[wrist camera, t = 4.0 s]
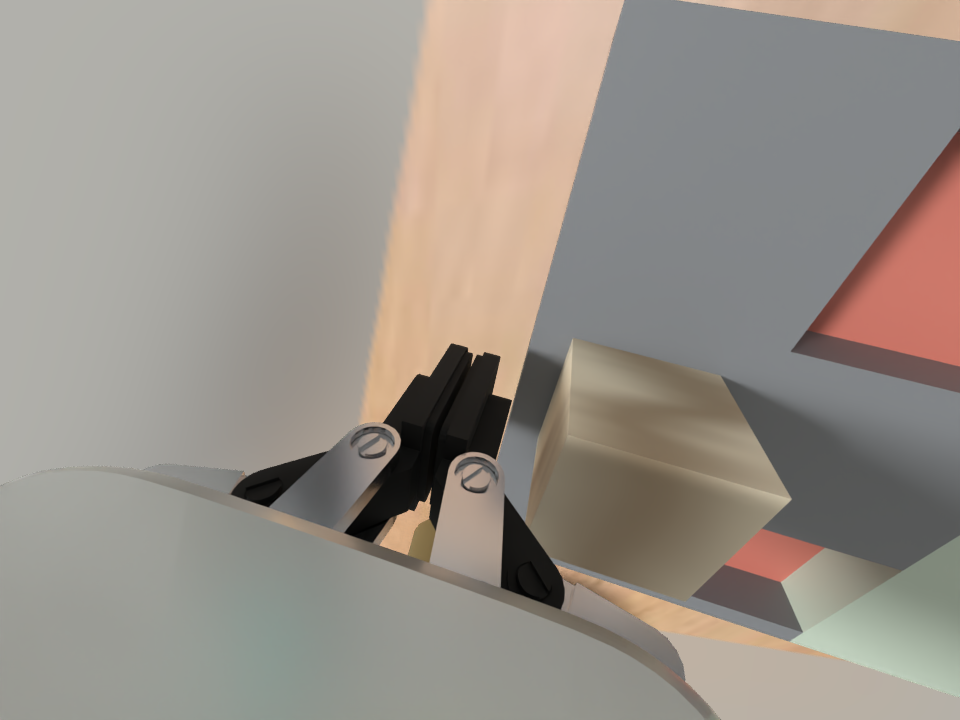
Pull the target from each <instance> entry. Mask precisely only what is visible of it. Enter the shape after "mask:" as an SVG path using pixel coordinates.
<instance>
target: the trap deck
mask: <svg viewBox="0 0 960 720" xmlns="http://www.w3.org/2000/svg"><path fill="white" fill-rule="evenodd" d="M573 338H576V339H580V340H584V341H588V342H591V343H595V344H599V345H603V346H607V347H611V348H615V349H619V350H623V351H627V352H630V353H634V354H638V355H642V356H646V357H650V358H654V359H658V360H662V361H666V362H669V363H673V364H677V365H681V366H685V367H689V368H693V369H697V370H701V371H705V372H708V373H712V374H716V375H720V376H721V377H722V379H723V381H724V383H725V384H726V386H727V388H728V389H729V391H730V393H731V395H732V396H733V398H734V400H735V402H736V403H737V405H738V407H739V409H740V410H741V412H742V414H743V415H744V417H745V419H746V421H747V422H748V424H749V426H750V428H751V429H752V431H753V433H754V435H755V436H756V438H757V440H758V441H759V443H760V445H761V447H762V448H763V450H764V452H765V454H766V455H767V457H768V459H769V461H770V462H771V464H772V466H773V467H774V469H775V471H776V473H777V474H778V476H779V478H780V480H781V481H782V483H783V485H784V487H785V488H786V490H787V492H788V493H789V495H790V497H791V499H792V500H791V501H790V502H789V503H788V504H787V505H786V506H785V507H783V508H782V509H781V510H780V511H779V512H778V513H777V514H776V515H775V516H774V517H773V518H772V519H771V520H770V521H769V522H768V523H767V524H766V525H765V526H764V527H763V528H762V529H761V530H760V531H758V532H757V533H756V534H755V535H754V536H753V537H752V538H751V539H750V540H749V541H748V542H747V543H746V544H745V545H744V546H743V547H742V548H741V549H740V550H739V551H738V552H737V553H736V554H735V555H733V556H732V557H731V558H730V559H729V560H728V561H727V562H726V563H725V564H724V565H723V566H722V567H721V568H720V569H719V570H718V571H717V572H716V573H715V574H714V575H713V576H712V577H711V578H710V579H708V580H707V581H706V582H705V583H704V584H703V585H702V586H701V587H700V588H699V589H698V590H697V591H696V592H695V593H694V594H693V595H692V596H691V597H690V598H689V599H688V600H687V601H686V602H684V601H681V600H678V599H675V598H672V597H669V596H666V595H663V594H660V593H657V592H654V591H651V590H648V589H645V588H641V587H638V586H635V585H632V584H629V583H626V582H623V581H620V580H617V579H614V578H611V577H608V576H605V575H602V574H599V573H596V572H593V571H590V570H587V569H584V568H581V567H578V566H574V565H571V564H568V563H565V562H562V561H559V560H556V559H553V558H550V559H551V560H552V562H553V563H554V564H556V565H559V566H562V567H565V568H568V569H571V570H574V571H577V572H580V573H583V574H586V575H589V576H592V577H595V578H598V579H601V580H604V581H607V582H610V583H613V584H616V585H619V586H622V587H625V588H629V589H632V590H635V591H638V592H641V593H644V594H647V595H650V596H653V597H656V598H659V599H662V600H665V601H668V602H671V603H674V604H677V605H680V606H683V607H686V608H689V609H692V610H695V611H698V612H701V613H704V614H707V615H710V616H713V617H716V618H719V619H722V620H725V621H729V622H732V623H735V624H738V625H741V626H744V627H747V628H750V629H753V630H756V631H759V632H762V633H765V634H768V635H771V636H774V637H777V638H780V639H783V640H786V641H789V642H792V643H795V644H798V645H801V646H804V647H807V648H810V649H813V650H816V651H819V652H822V653H825V654H828V655H832V656H835V657H838V658H841V659H844V660H847V661H850V662H853V663H856V664H859V665H862V666H865V667H868V668H871V669H874V670H877V671H880V672H883V673H886V674H889V675H892V676H895V677H898V678H901V679H904V680H907V681H910V682H913V683H916V684H920V685H923V686H926V687H928V688H932V689H935V690H938V691H941V692H944V693H947V694H950V695H953V696H956V697H960V41H954V40H947V39H940V38H933V37H926V36H919V35H912V34H905V33H899V32H892V31H885V30H878V29H871V28H864V27H857V26H850V25H843V24H836V23H829V22H822V21H815V20H809V19H802V18H795V17H788V16H781V15H774V14H767V13H760V12H753V11H746V10H739V9H732V8H725V7H718V6H712V5H705V4H698V3H691V2H684V1H677V0H625V1H624V4H623V7H622V11H621V14H620V17H619V20H618V24H617V27H616V31H615V34H614V38H613V42H612V45H611V49H610V53H609V56H608V60H607V64H606V67H605V71H604V74H603V78H602V82H601V85H600V89H599V93H598V96H597V100H596V103H595V107H594V111H593V114H592V118H591V122H590V125H589V129H588V133H587V136H586V140H585V143H584V147H583V151H582V154H581V158H580V162H579V165H578V169H577V172H576V176H575V180H574V183H573V187H572V191H571V194H570V198H569V202H568V205H567V209H566V212H565V216H564V220H563V223H562V227H561V231H560V234H559V238H558V241H557V245H556V249H555V252H554V256H553V260H552V263H551V267H550V271H549V274H548V278H547V281H546V285H545V289H544V292H543V296H542V300H541V303H540V307H539V310H538V314H537V318H536V321H535V325H534V329H533V332H532V336H531V340H530V343H529V347H528V350H527V354H526V358H525V361H524V365H523V369H522V372H521V376H520V379H519V383H518V387H517V390H516V394H515V398H514V401H513V405H512V409H511V412H510V416H509V419H508V423H507V427H506V430H505V434H504V438H503V441H502V445H501V448H500V452H499V456H498V459H497V462H498V463H499V464H500V465H501V467H502V469H503V471H504V476H505V492H504V493H505V495H506V496H507V498H508V499H509V501H510V502H511V503H512V505H513V506H514V508H515V509H516V511H517V512H518V513H519V515H520V516H521V518H522V519H523V520H524V522H525V520H526V514H527V507H528V500H529V494H530V487H531V480H532V474H533V467H534V460H535V454H536V447H537V440H538V436H539V433H540V430H541V428H542V425H543V422H544V419H545V416H546V413H547V410H548V408H549V405H550V402H551V399H552V396H553V393H554V390H555V388H556V385H557V382H558V379H559V376H560V373H561V370H562V368H563V365H564V362H565V359H566V356H567V353H568V350H569V348H570V345H571V342H572V339H573Z"/></svg>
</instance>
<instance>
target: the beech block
mask: <svg viewBox="0 0 960 720" xmlns="http://www.w3.org/2000/svg"><path fill="white" fill-rule="evenodd" d="M791 500H792V499H791V497H790V495H789V493H788V492H787V490H786V488H785V487H784V485H783V483H782V481H781V480H780V478H779V476H778V474H777V473H776V471H775V469H774V467H773V466H772V464H771V462H770V461H769V459H768V457H767V455H766V454H765V452H764V450H763V448H762V447H761V445H760V443H759V441H758V440H757V438H756V436H755V435H754V433H753V431H752V429H751V428H750V426H749V424H748V422H747V421H746V419H745V417H744V415H743V414H742V412H741V410H740V409H739V407H738V405H737V403H736V402H735V400H734V398H733V396H732V395H731V393H730V391H729V389H728V388H727V386H726V384H725V383H724V381H723V379H722V377H721V376H720V375H716V374H712V373H708V372H705V371H701V370H697V369H693V368H689V367H685V366H681V365H677V364H673V363H669V362H666V361H662V360H658V359H654V358H650V357H646V356H642V355H638V354H634V353H630V352H627V351H623V350H619V349H615V348H611V347H607V346H603V345H599V344H595V343H591V342H588V341H584V340H580V339H576V338H573V339H572V342H571V345H570V348H569V350H568V353H567V356H566V359H565V362H564V365H563V368H562V370H561V373H560V376H559V379H558V382H557V385H556V388H555V390H554V393H553V396H552V399H551V402H550V405H549V408H548V410H547V413H546V416H545V419H544V422H543V425H542V428H541V430H540V433H539V436H538V440H537V447H536V454H535V460H534V467H533V474H532V480H531V487H530V494H529V500H528V507H527V514H526V520H525V523H526V525H527V526H528V528H529V529H530V530H531V532H532V533H533V535H534V536H535V538H536V539H537V540H538V542H539V543H540V545H541V546H542V548H543V549H544V550H545V552H546V553H547V555H548V556H549V557H550V558H553V559H556V560H559V561H562V562H565V563H568V564H571V565H574V566H578V567H581V568H584V569H587V570H590V571H593V572H596V573H599V574H602V575H605V576H608V577H611V578H614V579H617V580H620V581H623V582H626V583H629V584H632V585H635V586H638V587H641V588H645V589H648V590H651V591H654V592H657V593H660V594H663V595H666V596H669V597H672V598H675V599H678V600H681V601H684V602H686V601H687V600H688V599H689V598H690V597H691V596H692V595H693V594H694V593H695V592H696V591H697V590H698V589H699V588H700V587H701V586H702V585H703V584H704V583H705V582H706V581H707V580H708V579H710V578H711V577H712V576H713V575H714V574H715V573H716V572H717V571H718V570H719V569H720V568H721V567H722V566H723V565H724V564H725V563H726V562H727V561H728V560H729V559H730V558H731V557H732V556H733V555H735V554H736V553H737V552H738V551H739V550H740V549H741V548H742V547H743V546H744V545H745V544H746V543H747V542H748V541H749V540H750V539H751V538H752V537H753V536H754V535H755V534H756V533H757V532H758V531H760V530H761V529H762V528H763V527H764V526H765V525H766V524H767V523H768V522H769V521H770V520H771V519H772V518H773V517H774V516H775V515H776V514H777V513H778V512H779V511H780V510H781V509H782V508H783V507H785V506H786V505H787V504H788V503H789V502H790V501H791Z"/></svg>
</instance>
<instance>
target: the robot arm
mask: <svg viewBox="0 0 960 720" xmlns="http://www.w3.org/2000/svg"><path fill="white" fill-rule="evenodd" d="M472 357H473V353H469V352H468V348H467V347H464V346H460V345H456V344H451V345H450V346H449V348H448V349H447V351H446V353H445V354H444V356H443V357H442V359H441V360H440V362H439V363H438V365H437V367H436V368H435V370H434V371H433V373H432V374H431V376H430V377H428V376H424V375H421V374H418V375H417V376H416V377H415V378H414V380H413V381H412V382H411V384H410V385H409V387H408V388H407V390H406V391H405V392H404V394H403V395H402V397H401V398H400V400H399V401H398V402H397V404H396V405H395V407H394V408H393V409H392V411H391V412H390V414H389V415H388V417H387V418H386V419H385V421H384V422H383V423H375V422H372V423H365V424H362V425H360V426H357V427H355V428H354V429H353V430H351V431H350V432H349V433H348V434H347V435H346V436H344V437H343V438H342V439H341V440H340V441H339V442H338V443H337V444H336V445H335V446H334V447H333V448H332V449H331V450H329V451H327V452H323V453H319V454H316V455H313V456H309V457H305V458H302V459H298V460H295V461H291V462H288V463H284V464H281V465H277V466H274V467H270V468H267V469H264V470H260V471H258V472H256V473H253V474H251V475H249V476H247V475H245V473H244V471H238V470H228V469H218V468H208V467H196V466H187V465H177V464H159V465H155V466H152V467H148V468H146V469H144V470H139V469H134V468H125V467H112V466H81V467H66V468H57V469H50V470H44V471H40V472H36V473H32V474H29V475H25V476H22V477H20V478H17V479H15V480H12V481H10V482H7V483H5V484H3V485H1V486H0V720H721V719H720V718H719V717H718V716H717V715H716V713H715V712H714V711H713V710H712V708H711V707H710V706H709V705H708V704H707V703H706V702H705V701H704V700H703V699H702V698H701V697H700V696H699V695H698V694H697V693H696V692H695V691H694V690H693V689H692V688H691V686H689V685H688V684H687V683H686V682H685V674H684V667H683V664H682V661H681V659H680V657H679V655H678V652H677V650H676V649H675V648H674V646H673V645H672V644H671V642H670V641H669V640H668V638H666V637H665V636H664V635H663V634H661V633H660V632H659V631H658V630H656V629H655V628H653V627H652V626H650V625H648V624H646V623H645V622H643V621H641V620H640V619H638V618H636V617H635V616H633V615H631V614H630V613H628V612H626V611H624V610H623V609H621V608H619V607H618V606H616V605H614V604H613V603H611V602H609V601H608V600H606V599H604V598H603V597H601V596H599V595H597V594H596V593H594V592H592V591H591V590H589V589H587V588H586V587H584V586H582V585H581V584H579V583H576V585H575V586H574V585H572V584H571V583H569V582H567V581H566V580H564V579H562V577H561V575H560V573H559V571H558V569H557V567H556V566H555V565H554V563H553V562H552V560H551V559H550V557H549V556H548V555H547V553H546V552H545V550H544V549H543V548H542V546H541V545H540V543H539V542H538V540H537V539H536V538H535V536H534V535H533V533H532V532H531V530H530V529H529V528H528V526H527V525H526V523H525V522H524V520H523V519H522V518H521V516H520V515H519V513H518V512H517V511H516V509H515V508H514V506H513V505H512V503H511V502H510V501H509V499H508V498H507V496H506V495H505V493H504V492H505V476H504V471H503V469H502V467H501V465H500V464H499V463H498V462H497V461H496V457H497V454H498V450H499V446H500V443H501V439H502V435H503V432H504V428H505V424H506V420H507V417H508V413H509V409H510V406H511V402H512V400H510V399H506V398H502V397H499V396H495V395H492V392H493V388H494V384H495V379H496V375H497V371H498V366H499V362H500V356H497V355H493V354H490V353H486V352H484V354H483V356H481V355H477V356H476V358H475V360H474V362H473V364H472V366H471V363H472ZM431 488H432V490H431ZM430 490H431V497H430V504H431V508H430V516H429V519H430V521H431V523H432V525H433V527H434V529H435V531H436V533H435V538H434V543H433V548H432V552H431V557H430V562H429V563H428V562H425V561H422V560H420V559H417V558H414V557H411V556H408V555H405V554H402V553H399V552H396V551H393V550H391V549H388V548H385V547H382V546H379V545H380V543H381V542H382V540H383V539H384V538H385V536H386V535H387V533H388V532H389V530H390V529H391V527H392V526H393V524H394V522H395V520H396V517H397V515H399V514H402V513H404V512H407V511H408V509H409V510H412V511H415V509H416V507H417V504H418V502H419V501H422V502H425V501H426V499H427V497H428V495H429V493H430Z"/></svg>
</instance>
